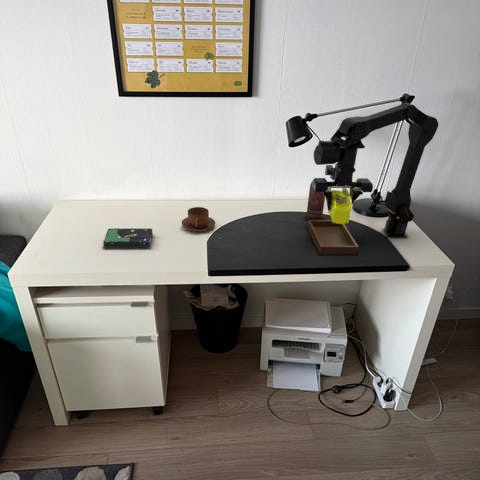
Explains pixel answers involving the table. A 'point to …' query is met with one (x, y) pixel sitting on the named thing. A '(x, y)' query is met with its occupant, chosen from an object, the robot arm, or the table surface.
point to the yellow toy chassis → (340, 206)
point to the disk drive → (128, 238)
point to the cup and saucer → (198, 220)
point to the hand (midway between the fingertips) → (337, 210)
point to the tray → (332, 238)
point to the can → (315, 204)
